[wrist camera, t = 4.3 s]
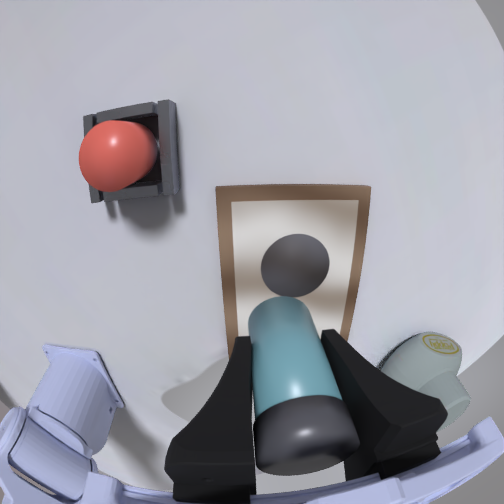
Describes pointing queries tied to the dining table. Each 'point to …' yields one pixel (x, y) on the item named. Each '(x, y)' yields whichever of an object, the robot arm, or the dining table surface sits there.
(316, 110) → the dining table surface
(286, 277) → the picture frame
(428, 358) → the air freshener
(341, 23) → the dining table surface
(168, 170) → the button collar
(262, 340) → the marker
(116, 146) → the button
